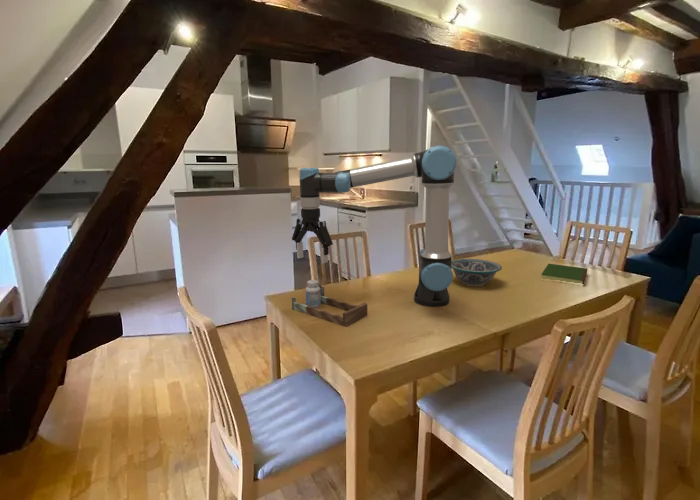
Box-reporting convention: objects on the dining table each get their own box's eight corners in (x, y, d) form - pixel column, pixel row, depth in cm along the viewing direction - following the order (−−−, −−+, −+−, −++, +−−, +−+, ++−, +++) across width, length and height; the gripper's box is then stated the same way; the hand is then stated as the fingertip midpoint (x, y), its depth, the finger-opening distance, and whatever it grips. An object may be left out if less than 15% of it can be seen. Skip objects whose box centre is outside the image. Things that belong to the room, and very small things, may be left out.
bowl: (443, 287, 189) (444, 268, 187) (451, 274, 212) (452, 256, 210) (499, 294, 180) (501, 274, 178) (501, 279, 203) (502, 261, 200)
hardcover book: (583, 287, 191) (584, 280, 190) (540, 281, 201) (541, 274, 200) (586, 275, 211) (587, 268, 210) (547, 269, 221) (548, 263, 220)
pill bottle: (306, 305, 168) (305, 279, 165) (320, 304, 168) (319, 279, 166) (306, 310, 162) (304, 284, 159) (320, 309, 163) (320, 283, 160)
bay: (374, 311, 160) (374, 294, 158) (346, 326, 146) (345, 307, 144) (319, 296, 178) (319, 280, 176) (289, 308, 164) (289, 291, 162)
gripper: (341, 208, 151) (342, 262, 156) (295, 204, 166) (297, 254, 171) (328, 211, 145) (329, 266, 150) (281, 206, 160) (284, 257, 165)
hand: (312, 260), depth 161 cm, fingers open, 13 cm apart
